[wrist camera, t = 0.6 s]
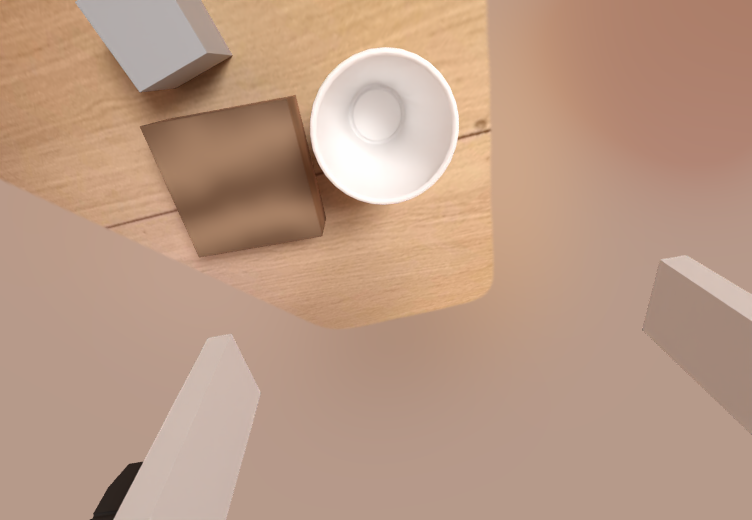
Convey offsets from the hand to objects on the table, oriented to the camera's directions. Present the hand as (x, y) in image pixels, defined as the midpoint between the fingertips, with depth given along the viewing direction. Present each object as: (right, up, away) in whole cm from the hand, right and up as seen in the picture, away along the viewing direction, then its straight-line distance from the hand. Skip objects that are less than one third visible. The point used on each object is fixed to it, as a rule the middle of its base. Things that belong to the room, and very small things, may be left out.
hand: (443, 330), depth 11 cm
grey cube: (-18, +21, +19) cm, 33 cm away
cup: (-2, +16, +22) cm, 27 cm away
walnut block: (-14, +11, +24) cm, 30 cm away
